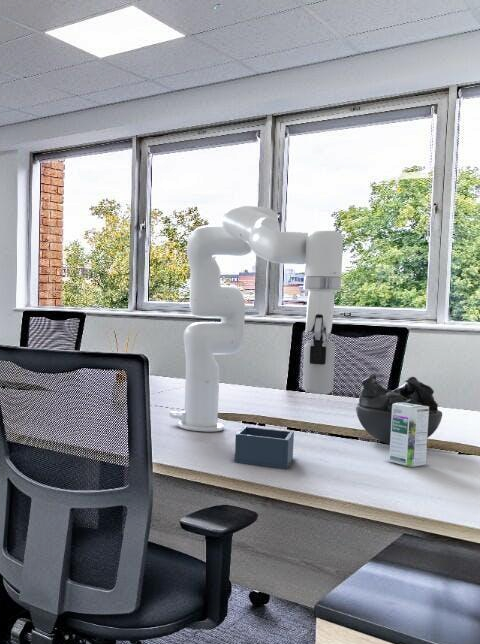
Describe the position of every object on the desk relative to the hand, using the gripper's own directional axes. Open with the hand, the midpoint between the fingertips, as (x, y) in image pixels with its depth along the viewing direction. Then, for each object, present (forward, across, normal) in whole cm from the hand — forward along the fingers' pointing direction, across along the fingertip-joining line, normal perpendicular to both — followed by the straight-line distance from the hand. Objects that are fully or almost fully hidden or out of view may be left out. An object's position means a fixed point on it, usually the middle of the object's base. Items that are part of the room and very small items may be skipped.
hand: (318, 362), depth 161 cm
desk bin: (+25, -2, -11) cm, 27 cm away
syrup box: (+25, -19, +19) cm, 37 cm away
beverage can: (+7, 0, 0) cm, 7 cm away
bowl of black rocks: (+25, -42, +17) cm, 51 cm away
